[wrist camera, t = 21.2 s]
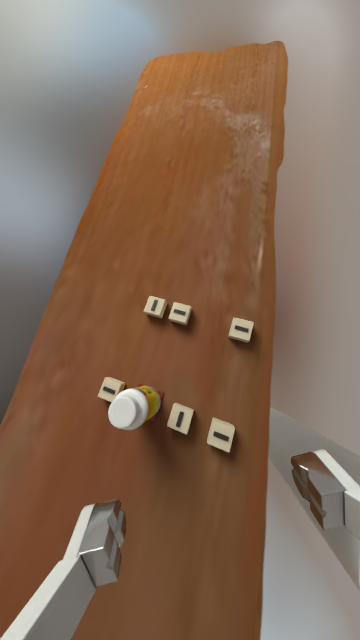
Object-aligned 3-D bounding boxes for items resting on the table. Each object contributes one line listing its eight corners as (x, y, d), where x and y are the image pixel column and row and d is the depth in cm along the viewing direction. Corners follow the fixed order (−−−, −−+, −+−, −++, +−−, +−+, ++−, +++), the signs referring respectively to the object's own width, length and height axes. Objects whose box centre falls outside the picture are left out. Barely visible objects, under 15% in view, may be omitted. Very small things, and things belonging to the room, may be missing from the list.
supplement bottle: (162, 386, 34) (144, 392, 25) (159, 419, 33) (138, 438, 23) (134, 384, 35) (106, 388, 26) (130, 415, 34) (98, 433, 24)
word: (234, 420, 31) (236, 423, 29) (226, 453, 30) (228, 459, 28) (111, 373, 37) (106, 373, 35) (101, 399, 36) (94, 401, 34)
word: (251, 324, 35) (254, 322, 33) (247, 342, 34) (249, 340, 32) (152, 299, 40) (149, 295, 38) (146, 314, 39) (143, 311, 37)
